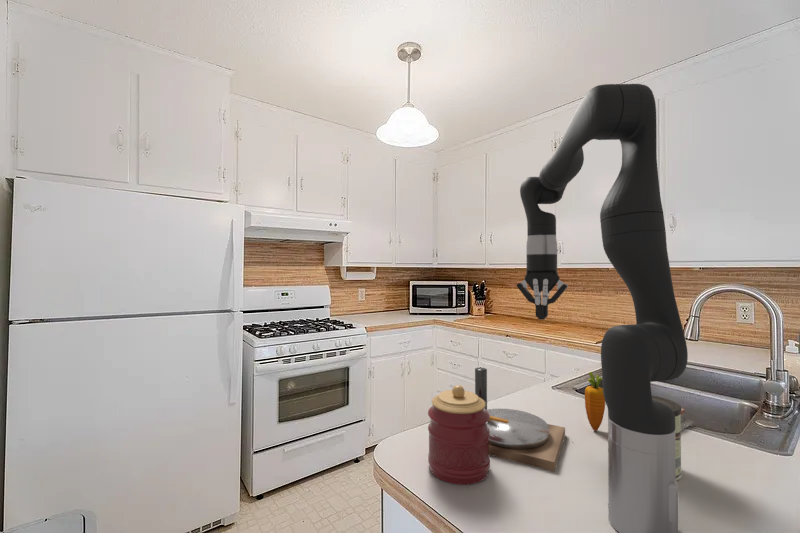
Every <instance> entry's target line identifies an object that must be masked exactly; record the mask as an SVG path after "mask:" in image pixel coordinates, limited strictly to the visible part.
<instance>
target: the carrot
mask: <svg viewBox="0 0 800 533" xmlns="http://www.w3.org/2000/svg"><path fill="white" fill-rule="evenodd" d="M588 375H589V376H590V377H589V378H588V379H587V381H588V383H589V384H590V385H588V386H586V387H585V389H584V405H585V406H584V407H585V412H586V417H587V419H588V422H589V425H590V427H591V429H592V430H593V431H594V432H597V431H599V430H598V429H600V427H601V424H602V422H603V418H604V415H605V414H604V413H605V411H606V410H605V409H606V402H605V398H604V394H603V387H600V386H599V385H600V383H601V382H602V376H600V375H598V374H596V375H594V374H593V372H592V371H589V372H588Z"/></svg>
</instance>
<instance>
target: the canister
mask: <svg viewBox="0 0 800 533" xmlns="http://www.w3.org/2000/svg"><path fill="white" fill-rule="evenodd" d="M431 403H432V405H431V406H430V407H429V409H428V410H427V415H428V417H429V419H430V420H429V421H430V422H429V424H428V426H427V431H428V454H427V457H428V458H427V459H428V460H427V462H428V465H429V466H428V467H429V469H430V470H429V471H430V473H432V474H433V476H435V477H436V478H437V479H439V480H440V481H441V480H442V481H443V482H446V483H449V484H453V485H459V486H462V485H464V486H465V485H473V484H477V483H480V482H482V481H483V480H485V479H486V478H487V477H488V476H489V473H490V472H489V471H490V467H491V458H490V455H489V435H490V430H489V428H488V426H487V421H488V420H489V418H490V414H489V412H488V411H487V410H488V409H487V410H486V409H485V406H486V403H485V401H484V400H483V399H481V398H480V397H478V396H477V395H476V394H475V392H471V391H469V390H465V388H464V387H463V386H462V385H459V384H456V385H454V386H453V387H452V389H449V390H444V391H441V392H440V393H439V394H437V395H434V397H433V398H432V399H431Z"/></svg>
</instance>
